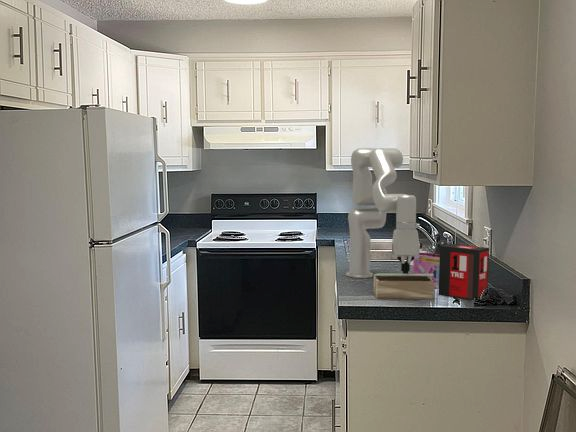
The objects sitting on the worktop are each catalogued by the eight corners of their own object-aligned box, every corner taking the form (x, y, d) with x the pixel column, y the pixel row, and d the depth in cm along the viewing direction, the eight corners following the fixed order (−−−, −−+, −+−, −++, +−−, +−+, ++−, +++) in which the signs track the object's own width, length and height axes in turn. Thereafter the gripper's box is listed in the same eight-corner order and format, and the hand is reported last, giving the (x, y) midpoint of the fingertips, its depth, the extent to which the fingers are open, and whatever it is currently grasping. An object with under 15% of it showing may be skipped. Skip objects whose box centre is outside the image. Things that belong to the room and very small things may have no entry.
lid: (374, 276, 246) (374, 274, 246) (427, 276, 246) (427, 274, 246) (378, 275, 236) (378, 273, 236) (433, 275, 237) (433, 273, 237)
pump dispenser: (426, 270, 297) (427, 240, 295) (439, 268, 304) (440, 238, 302) (444, 274, 289) (445, 242, 288) (456, 271, 296) (457, 240, 294)
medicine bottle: (412, 263, 318) (412, 240, 317) (425, 264, 314) (425, 241, 313) (406, 265, 312) (407, 242, 311) (419, 266, 308) (420, 243, 307)
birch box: (373, 293, 247) (373, 276, 246) (427, 293, 247) (427, 276, 247) (377, 298, 237) (377, 281, 236) (433, 299, 237) (433, 281, 237)
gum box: (409, 285, 264) (410, 254, 262) (416, 282, 270) (417, 251, 269) (463, 292, 250) (464, 259, 249) (469, 289, 256) (471, 257, 255)
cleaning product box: (438, 295, 245) (440, 245, 243) (448, 291, 251) (450, 243, 249) (477, 301, 234) (479, 250, 232) (487, 297, 240) (489, 247, 238)
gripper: (422, 225, 240) (422, 271, 241) (385, 225, 240) (384, 271, 241) (427, 227, 233) (426, 274, 234) (388, 227, 233) (388, 274, 234)
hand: (405, 273), depth 238 cm, fingers closed
